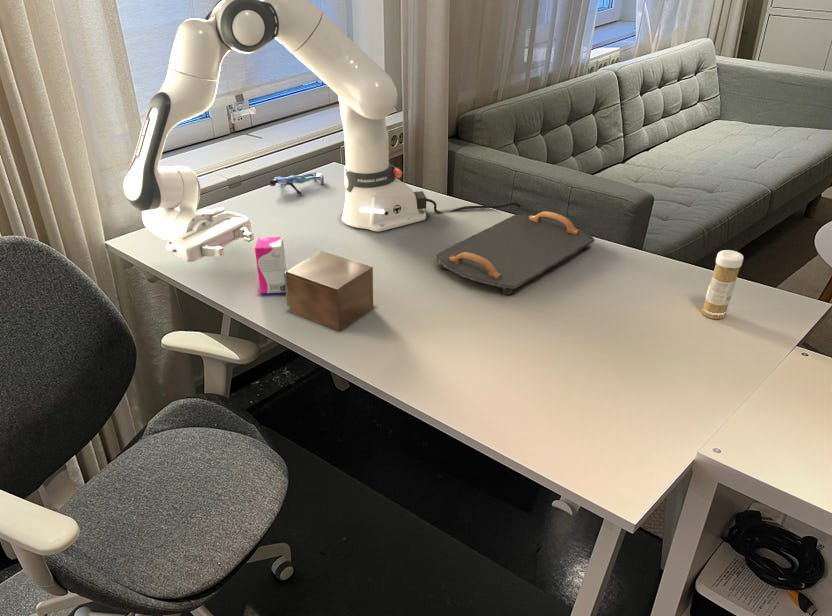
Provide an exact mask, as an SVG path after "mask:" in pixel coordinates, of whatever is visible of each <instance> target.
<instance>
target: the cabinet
mask: <svg viewBox="0 0 832 616" xmlns="http://www.w3.org/2000/svg"><path fill="white" fill-rule="evenodd" d="M373 270H374V269H373V266H370V265H368V264H365V263H361V262H359V261H356V260H355V261H354V260H353V259H349V258H347V257H342V256H340V255H336V254H333V253H330V252H327V251H324V250H321V251H319V252H317V253H315V254H313V255H312V256H310V257H309V258H307V259H305V260H303V261H301V262H300V263H298V264H296V265H294V266H293V267H291V268H289V269H286V279H287V290H288V300H289V306H288V309H289V313H291V314H295V315H297V316H300V317H302V318H304V319H307V320H309V321H312V322H315V323H317V324H319V325H322V326H325V327H328V328H330V329H333V330H336V331H338V332H340V331H342V330H344V329H345V328H347V326H349V325H350V324H352V323H353V322H355V321H356V320H358V319H359V318H361V317H362V316H363V315H365V314H366V313H367V312H369V311H370V310H372V309H373V308H374V271H373Z"/></svg>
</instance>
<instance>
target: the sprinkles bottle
mask: <svg viewBox="0 0 832 616" xmlns="http://www.w3.org/2000/svg"><path fill="white" fill-rule="evenodd" d="M744 258H745V257H744V255H743V254H742V253H741V252H738V251H736V250H731V249H724V250H720V251H718V253H717V254H716V257H715V266H714V269H713V273H712V275H711V279H710V282H709V284H708V288H707V292H706V295H705V300H704V304H703V307H704V309H705V310H707V311H709V312H712V313H724V312H726V313H725V314H724V315H719V316H718V315H711V314H708V313H706V312H705V311H704V310H703V308H702V309H701V313H702V315H703V316H705V317H706V318H708V319H711V320H722V319H724V318H725V317H726V316H727V310H728V307H729V305H730V302H731V299H732V296H733V293H734V289H735V285H736V283H737V279H738V275H739V272H740V269H741V267H742V265H743V263H744Z"/></svg>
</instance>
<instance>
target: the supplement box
mask: <svg viewBox="0 0 832 616" xmlns="http://www.w3.org/2000/svg"><path fill="white" fill-rule="evenodd" d="M254 255H255V262H256V271H257V277H258V286H259V292H260V294H259V295H260V296H275V295H286V291H281V290H280V287H281V286H282V285H284V284H285V280H284V272H286V271H287V264H286V254H285V245H284V238H283V236H269V237H268V236H267V237H266V236H265V237H257V238H256V243H255V245H254Z"/></svg>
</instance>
